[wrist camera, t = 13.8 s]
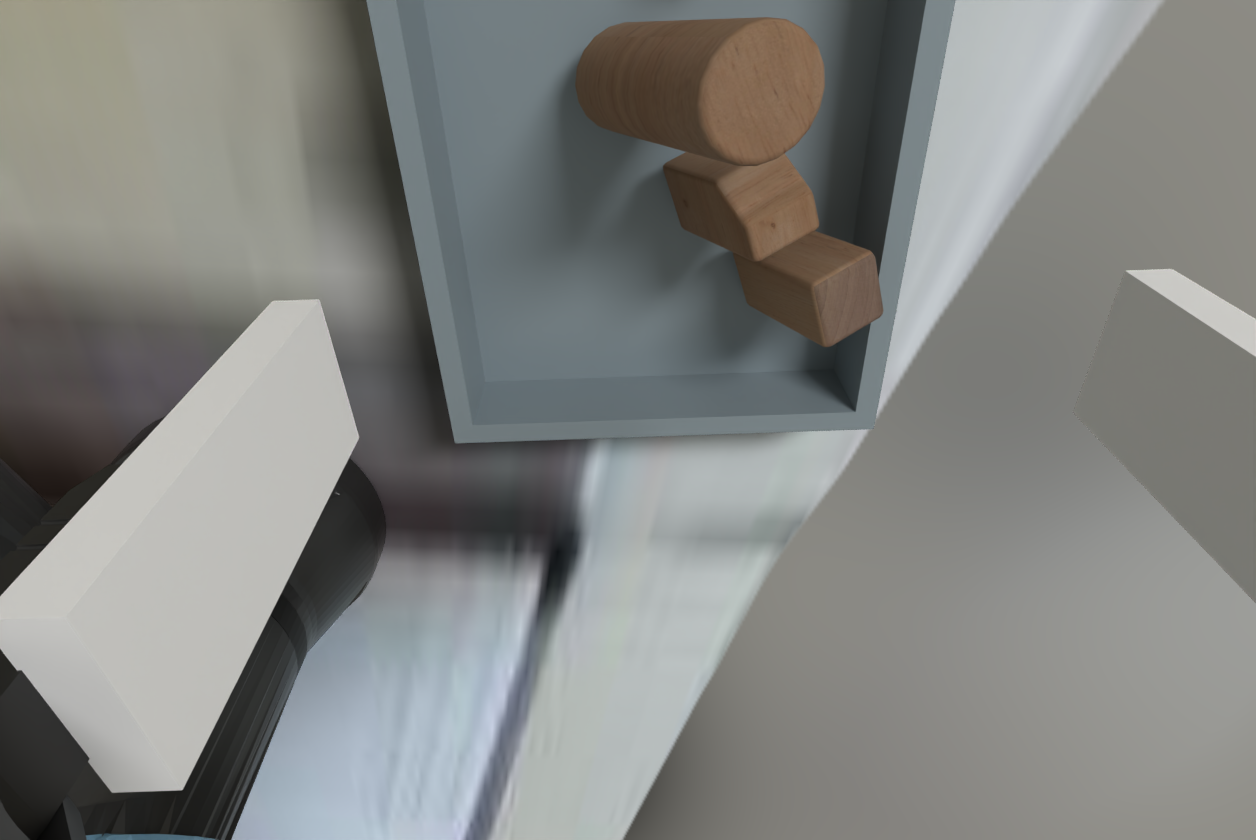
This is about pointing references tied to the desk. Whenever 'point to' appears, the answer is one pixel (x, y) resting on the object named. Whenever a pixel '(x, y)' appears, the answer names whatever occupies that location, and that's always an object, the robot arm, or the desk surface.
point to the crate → (636, 221)
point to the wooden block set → (737, 155)
